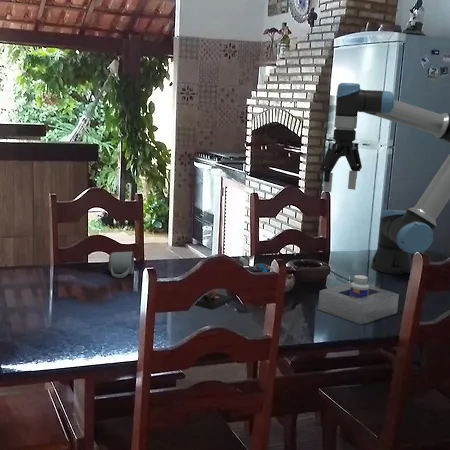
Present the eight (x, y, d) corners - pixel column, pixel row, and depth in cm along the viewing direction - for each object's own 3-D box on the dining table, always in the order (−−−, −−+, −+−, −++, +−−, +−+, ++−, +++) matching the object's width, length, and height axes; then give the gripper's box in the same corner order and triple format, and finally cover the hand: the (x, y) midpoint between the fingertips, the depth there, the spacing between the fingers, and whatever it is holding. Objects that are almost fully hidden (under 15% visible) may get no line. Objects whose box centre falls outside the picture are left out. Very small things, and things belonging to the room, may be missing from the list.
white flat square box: (354, 299, 207) (355, 281, 205) (396, 312, 195) (398, 294, 194) (318, 309, 195) (319, 290, 193) (361, 324, 183) (363, 304, 182)
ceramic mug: (110, 269, 227) (111, 248, 225) (134, 270, 227) (134, 249, 225) (106, 278, 216) (107, 256, 215) (131, 279, 217) (131, 257, 215)
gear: (281, 286, 210) (261, 264, 210) (267, 298, 211) (247, 275, 211) (280, 282, 221) (261, 260, 221) (267, 293, 222) (248, 271, 222)
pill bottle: (349, 309, 192) (352, 278, 191) (348, 304, 198) (351, 273, 196) (367, 311, 192) (370, 280, 190) (366, 305, 197) (369, 275, 195)
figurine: (231, 301, 198) (233, 264, 196) (212, 309, 190) (214, 270, 187) (204, 295, 203) (206, 258, 201) (185, 302, 195) (187, 264, 193)
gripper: (357, 128, 231) (352, 186, 235) (313, 128, 214) (308, 190, 218) (375, 129, 225) (369, 189, 230) (330, 129, 209) (325, 194, 213)
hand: (339, 190), depth 224 cm, fingers open, 13 cm apart
